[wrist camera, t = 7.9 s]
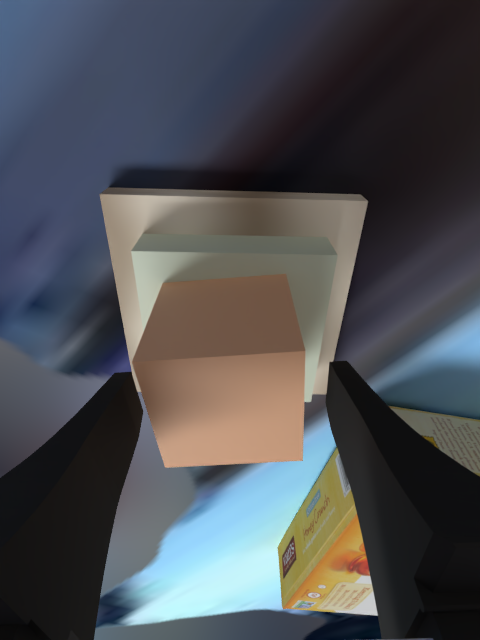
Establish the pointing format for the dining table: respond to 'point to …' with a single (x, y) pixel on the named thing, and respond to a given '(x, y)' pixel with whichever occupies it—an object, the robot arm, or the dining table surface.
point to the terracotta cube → (224, 372)
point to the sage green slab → (244, 274)
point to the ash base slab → (233, 219)
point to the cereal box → (352, 525)
